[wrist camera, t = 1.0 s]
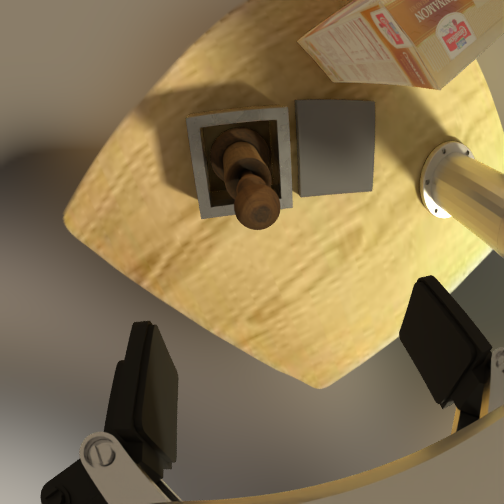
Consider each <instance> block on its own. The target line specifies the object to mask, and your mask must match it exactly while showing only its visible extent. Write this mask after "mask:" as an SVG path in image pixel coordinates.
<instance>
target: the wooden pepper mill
mask: <svg viewBox="0 0 504 504" xmlns="http://www.w3.org/2000/svg"><path fill="white" fill-rule="evenodd" d="M210 160H211V166H212V169H213V171H214V172H215V174H216V175H217V176H218V177H219V178H220V179H221V180H223V181H224V182H225V186H226V189H227V191H228V193H229V194H230V196H231V197H232V198H234V199H235V202H234V211H235V215H236V217H237V219H238V220H239V221H240V223H241V224H243V225H244V226H245V227H247V228H250V229H254V230H262V229H265V228H268V227H269V226H271V225H272V224H273V223H274V222H275V221H276V220H277V218H278V216H279V213H280V200H279V197H278V195H277V194H276V192H275V191H274V190H273V189H271V188H270V186H271V174H270V171H269V169H268V167H267V166H268V163H269V149H268V146H267V144H266V142H265V141H264V139H263V138H262V137H261V136H260V135H259V134H258V133H257V132H256V131H254V130H252V129H249V128H245V127H236V128H231V129H229V130H226V131H224V132H223V133H222V134H220V135H219V136H218V137H217V138H216V140H215V141H214V143H213V145H212V148H211V154H210Z"/></svg>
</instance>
